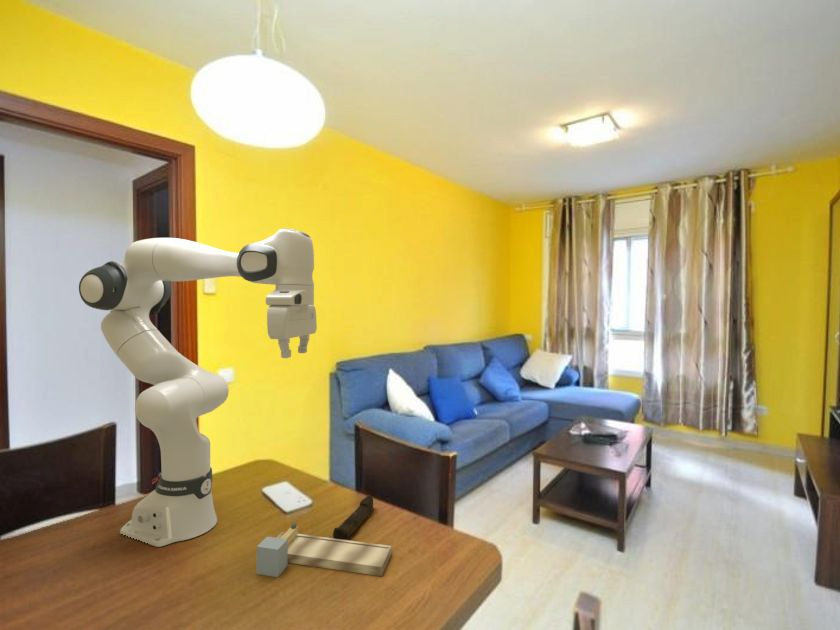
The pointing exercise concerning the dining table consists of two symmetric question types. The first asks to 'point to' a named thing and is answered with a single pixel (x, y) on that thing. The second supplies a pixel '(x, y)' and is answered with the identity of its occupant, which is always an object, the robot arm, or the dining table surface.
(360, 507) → the rusty railroad spike
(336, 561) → the board
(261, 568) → the grey mallet
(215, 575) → the dining table surface
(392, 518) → the dining table surface
